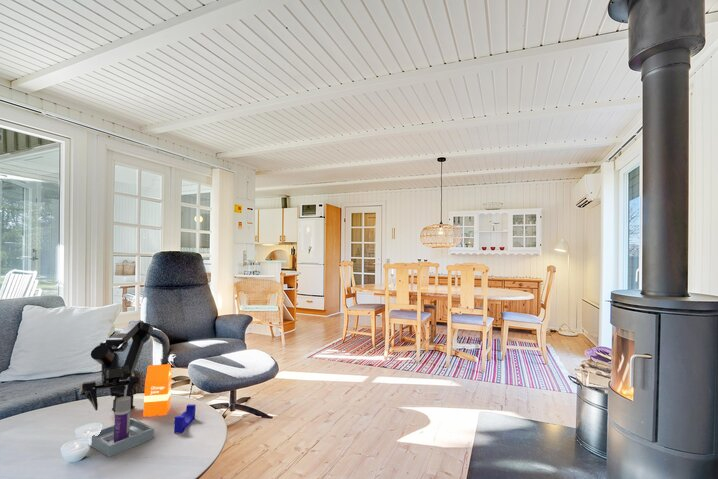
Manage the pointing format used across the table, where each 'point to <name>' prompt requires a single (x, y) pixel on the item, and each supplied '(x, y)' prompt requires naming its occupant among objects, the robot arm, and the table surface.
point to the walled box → (138, 431)
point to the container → (122, 418)
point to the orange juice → (157, 390)
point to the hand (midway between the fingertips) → (111, 407)
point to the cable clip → (184, 419)
